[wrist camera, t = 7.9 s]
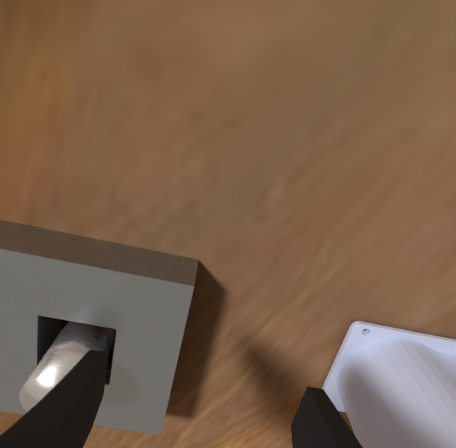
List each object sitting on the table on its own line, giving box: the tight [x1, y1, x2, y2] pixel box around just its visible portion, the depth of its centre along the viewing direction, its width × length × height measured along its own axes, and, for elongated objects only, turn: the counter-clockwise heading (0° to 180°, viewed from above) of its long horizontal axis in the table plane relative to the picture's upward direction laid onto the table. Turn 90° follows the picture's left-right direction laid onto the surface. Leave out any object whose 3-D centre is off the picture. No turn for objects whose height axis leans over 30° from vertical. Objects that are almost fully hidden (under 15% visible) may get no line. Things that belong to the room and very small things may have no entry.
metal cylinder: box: [19, 321, 117, 412], centre depth 19 cm, size 3×3×6 cm
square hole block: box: [0, 220, 199, 435], centre depth 20 cm, size 20×12×3 cm, turn 77°
